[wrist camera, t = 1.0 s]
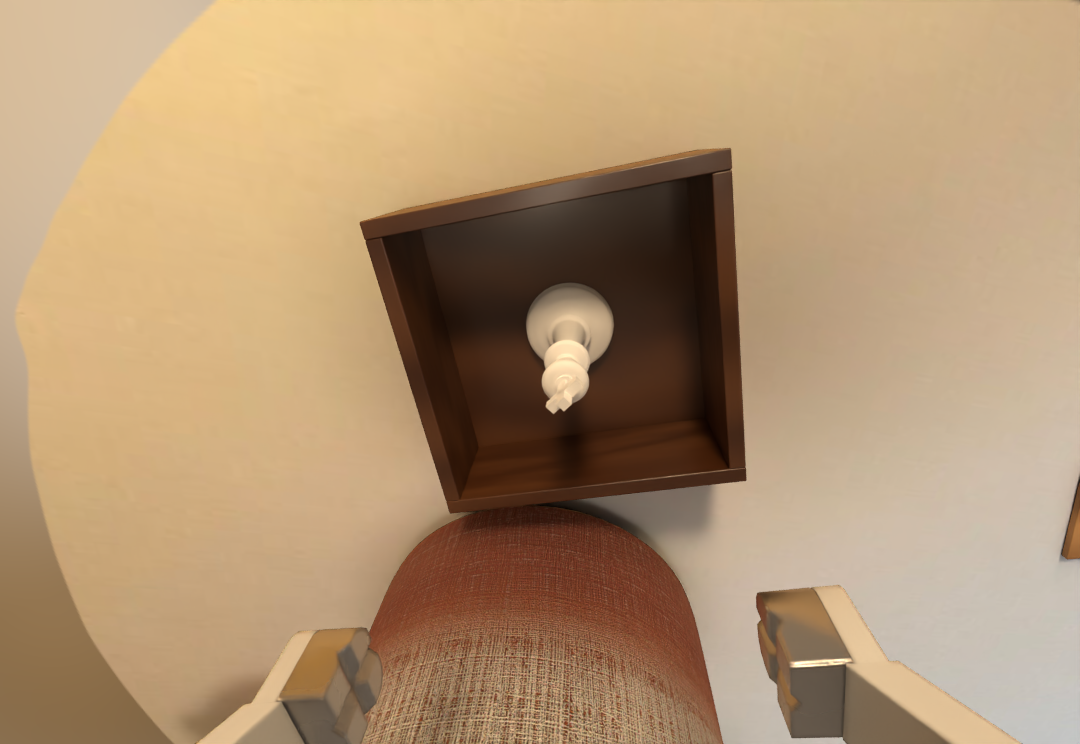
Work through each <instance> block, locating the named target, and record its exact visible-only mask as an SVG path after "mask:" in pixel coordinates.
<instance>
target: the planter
mask: <svg viewBox="0 0 1080 744" xmlns="http://www.w3.org/2000/svg"><path fill="white" fill-rule="evenodd" d="M369 634H370V636H371V638H372V640H371V642H370V645H369V648H370V649H372V650H373V651H375V652H376V653H377V654H378V655H379V657H380V659H381V662H382V668H383V680H382V689H381V692H380V695H379V698H378V700H377V703H376V704H375V705H374V706H373V707H372V708H371V709H370V710H369V711H368V712H367V713H366V718H367V721H368V727H367V730H366V733H365V735H364V738H363V741H362V743H361V744H723V741H722V736H721V732H720V727H719V723H718V718H717V714H716V709H715V705H714V700H713V696H712V691H711V687H710V682H709V678H708V673H707V669H706V664H705V660H704V655H703V651H702V647H701V642H700V638H699V634H698V630H697V626H696V622H695V618H694V615H693V612H692V609H691V606H690V603H689V601H688V598H687V596H686V593H685V591H684V589H683V587H682V585H681V583H680V581H679V580H678V578H677V577H676V575H675V574H674V572H673V571H672V570H671V568H670V567H669V566H668V564H667V563H666V562H665V561H664V560H663V559H662V558H661V557H660V556H659V555H658V554H657V553H656V552H655V551H654V550H653V549H652V548H650V547H649V546H648V545H647V544H645V543H644V542H643V541H641V540H640V539H638V538H637V537H635V536H634V535H632V534H631V533H629V532H627V531H626V530H624V529H622V528H620V527H618V526H616V525H614V524H612V523H610V522H607V521H605V520H602V519H599V518H597V517H594V516H591V515H588V514H584V513H581V512H577V511H573V510H568V509H562V508H555V507H546V506H514V507H505V508H496V509H490V510H485V511H481V512H477V513H473V514H470V515H467V516H464V517H462V518H459V519H457V520H455V521H453V522H451V523H449V524H447V525H445V526H443V527H441V528H439V529H438V530H436V531H435V532H433V533H432V534H430V535H429V536H428V537H426V538H425V539H424V540H423V541H422V542H420V543H419V544H418V545H417V546H416V547H415V548H414V549H413V551H412V552H411V553H410V554H409V555H408V557H407V558H406V559H405V561H404V562H403V563H402V565H401V567H400V568H399V570H398V571H397V573H396V575H395V577H394V578H393V580H392V582H391V584H390V586H389V588H388V590H387V593H386V595H385V597H384V599H383V602H382V604H381V606H380V609H379V611H378V613H377V616H376V618H375V620H374V623H373V625H372V627H371V630H370V632H369Z"/></svg>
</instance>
